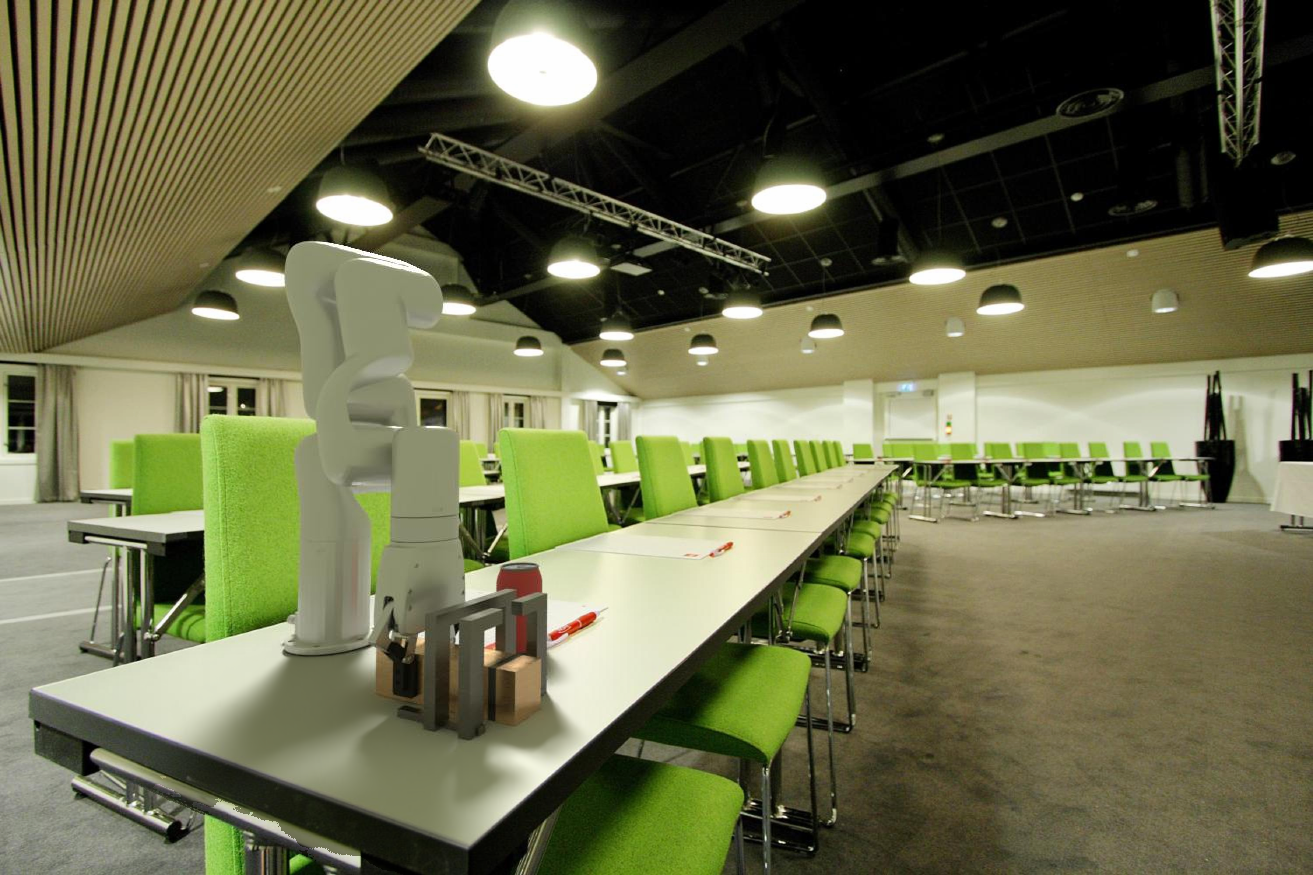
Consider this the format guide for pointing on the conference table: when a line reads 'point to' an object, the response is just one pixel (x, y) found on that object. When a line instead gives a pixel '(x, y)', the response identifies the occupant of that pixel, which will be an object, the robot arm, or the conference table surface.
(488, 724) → the conference table surface
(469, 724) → the gray arch posts
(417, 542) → the robot arm
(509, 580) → the beer can
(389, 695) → the long brass-colored rectangular prism
